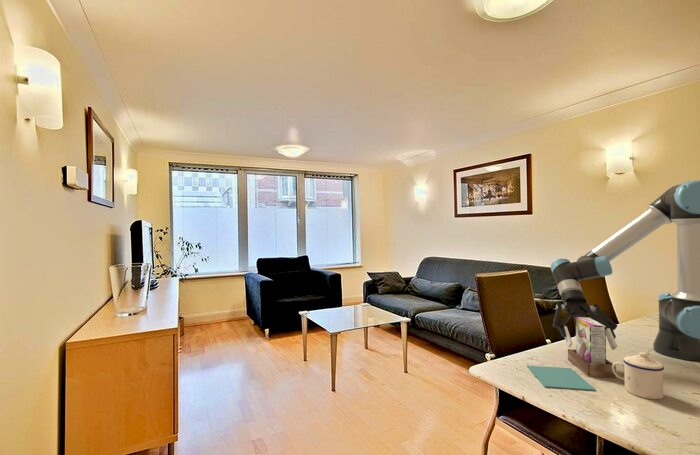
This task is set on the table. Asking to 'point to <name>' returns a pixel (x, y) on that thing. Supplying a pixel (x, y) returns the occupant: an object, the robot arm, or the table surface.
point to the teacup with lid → (642, 376)
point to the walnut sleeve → (591, 366)
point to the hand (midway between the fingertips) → (592, 346)
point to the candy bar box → (591, 340)
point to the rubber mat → (560, 378)
